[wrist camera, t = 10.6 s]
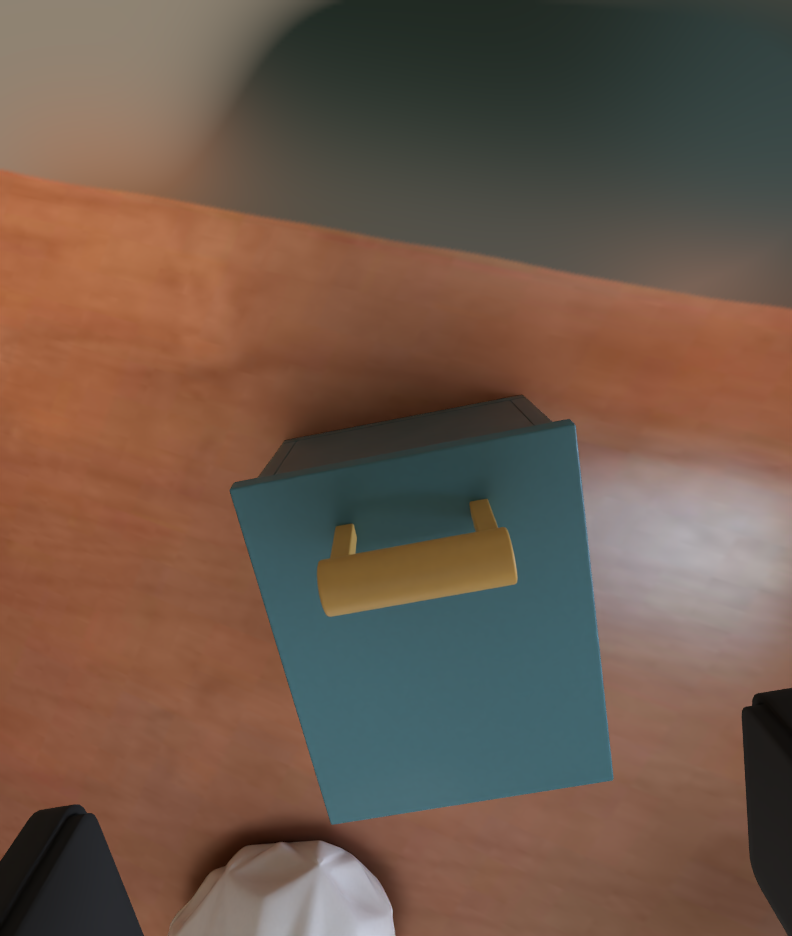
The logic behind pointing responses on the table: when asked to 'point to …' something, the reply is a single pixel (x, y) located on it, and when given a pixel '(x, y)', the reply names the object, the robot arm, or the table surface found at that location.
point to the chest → (404, 434)
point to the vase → (288, 895)
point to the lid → (436, 620)
